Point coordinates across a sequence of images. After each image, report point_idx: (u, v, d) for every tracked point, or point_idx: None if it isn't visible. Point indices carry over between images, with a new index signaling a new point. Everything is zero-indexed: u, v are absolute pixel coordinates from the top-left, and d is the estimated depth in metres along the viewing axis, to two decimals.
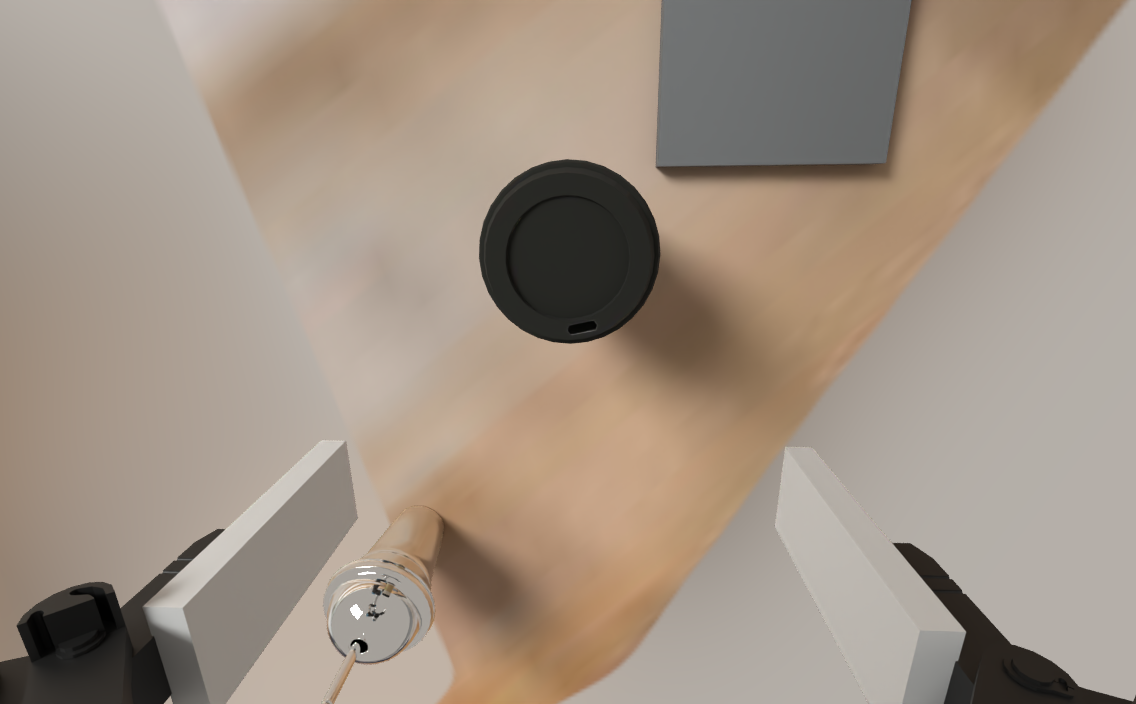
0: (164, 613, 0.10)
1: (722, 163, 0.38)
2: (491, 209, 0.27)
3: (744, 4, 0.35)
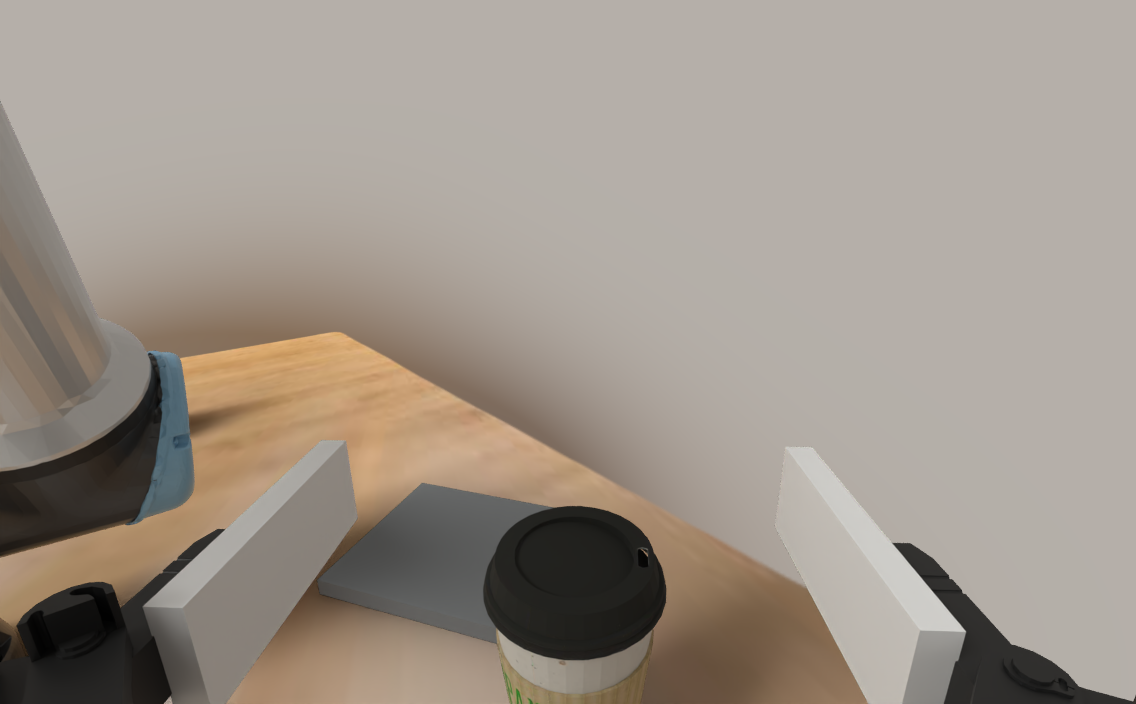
0: (164, 613, 0.10)
1: None
2: (500, 616, 0.25)
3: (451, 563, 0.47)
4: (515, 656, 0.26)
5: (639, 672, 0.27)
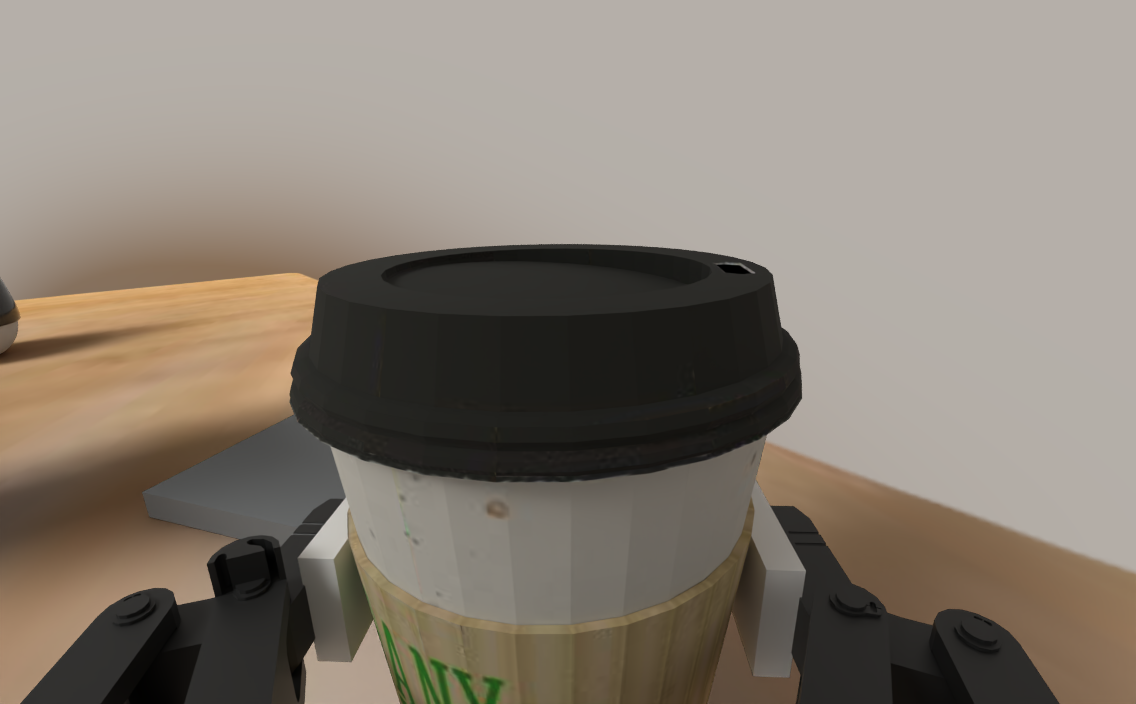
0: (316, 564, 0.11)
1: None
2: (307, 379, 0.08)
3: None
4: (365, 518, 0.09)
5: (733, 572, 0.09)
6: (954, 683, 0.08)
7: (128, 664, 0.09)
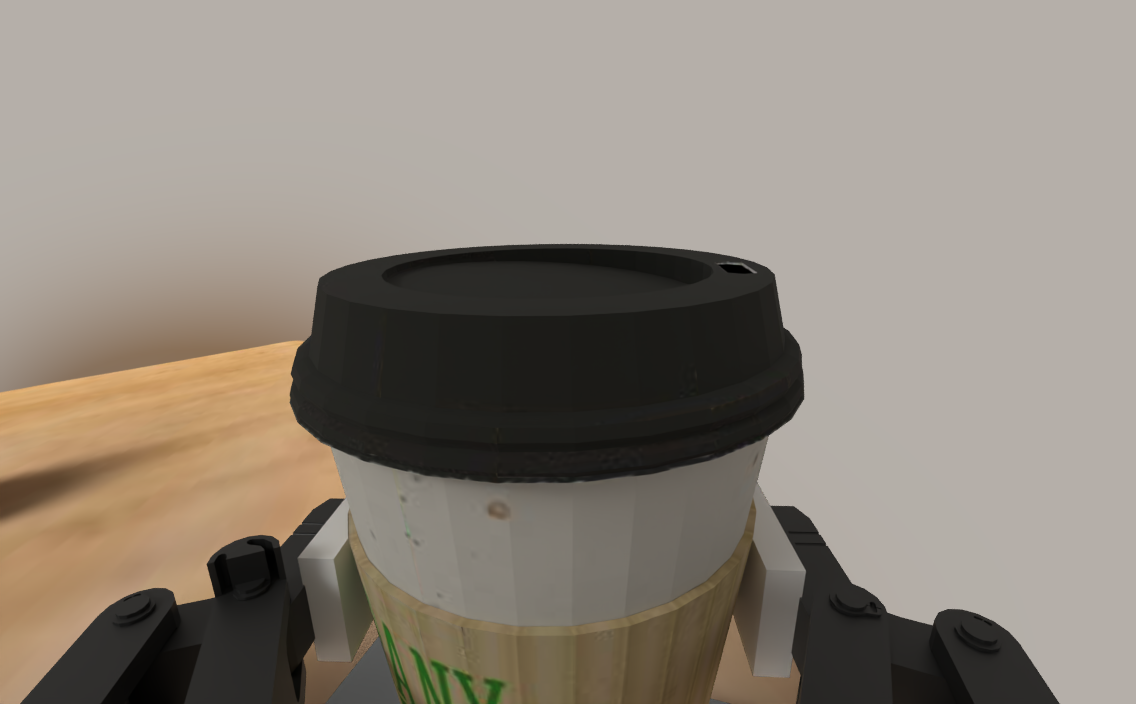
0: (316, 564, 0.11)
1: None
2: (307, 379, 0.08)
3: None
4: (366, 519, 0.09)
5: (735, 573, 0.09)
6: (954, 683, 0.08)
7: (128, 664, 0.09)
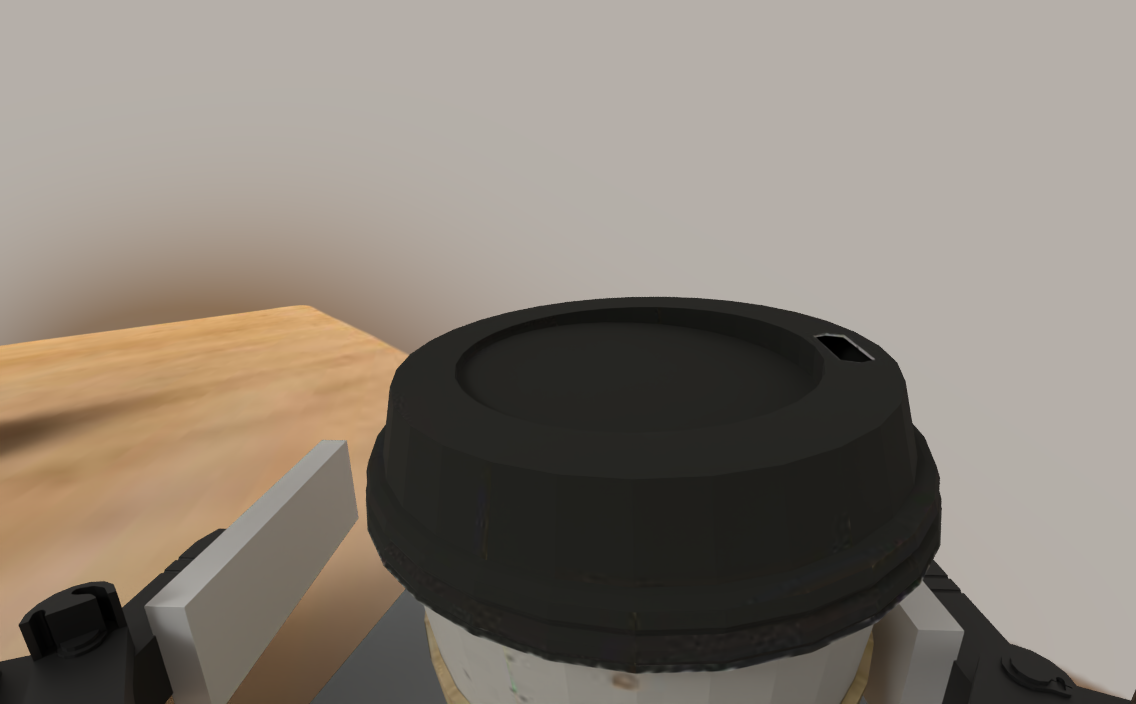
0: (166, 612, 0.10)
1: None
2: (393, 521, 0.07)
3: None
4: (459, 658, 0.08)
5: (862, 694, 0.08)
6: None
7: None
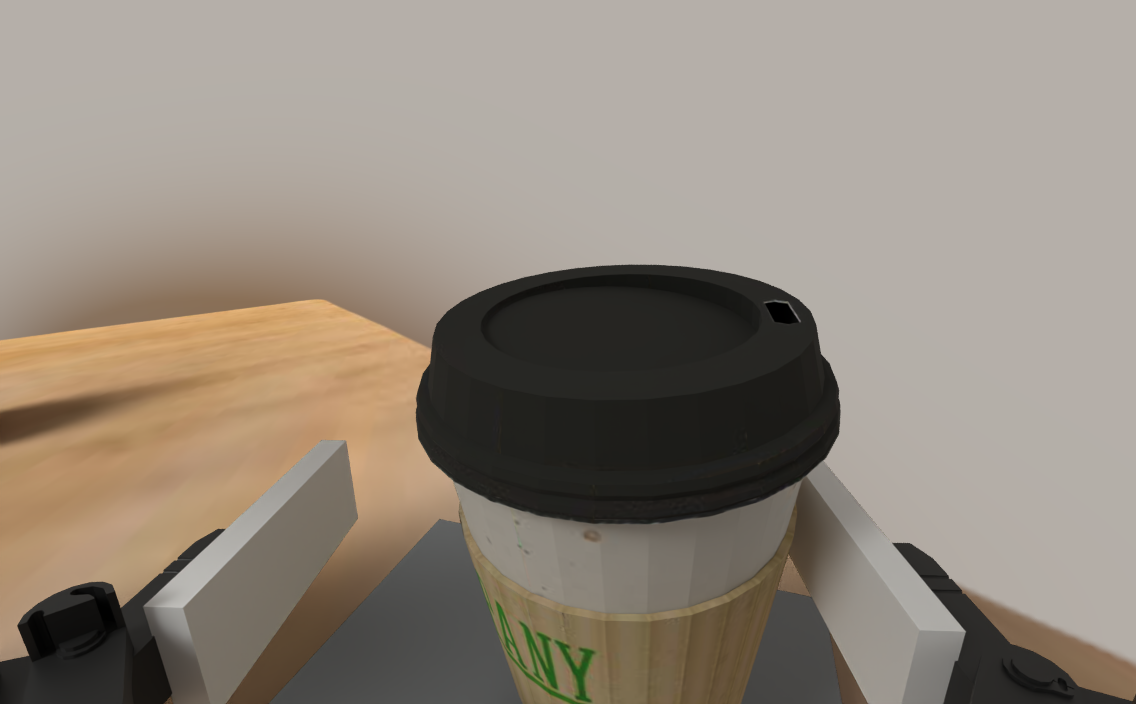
0: (165, 613, 0.10)
1: None
2: (437, 430, 0.10)
3: None
4: (483, 529, 0.11)
5: (777, 569, 0.11)
6: None
7: None
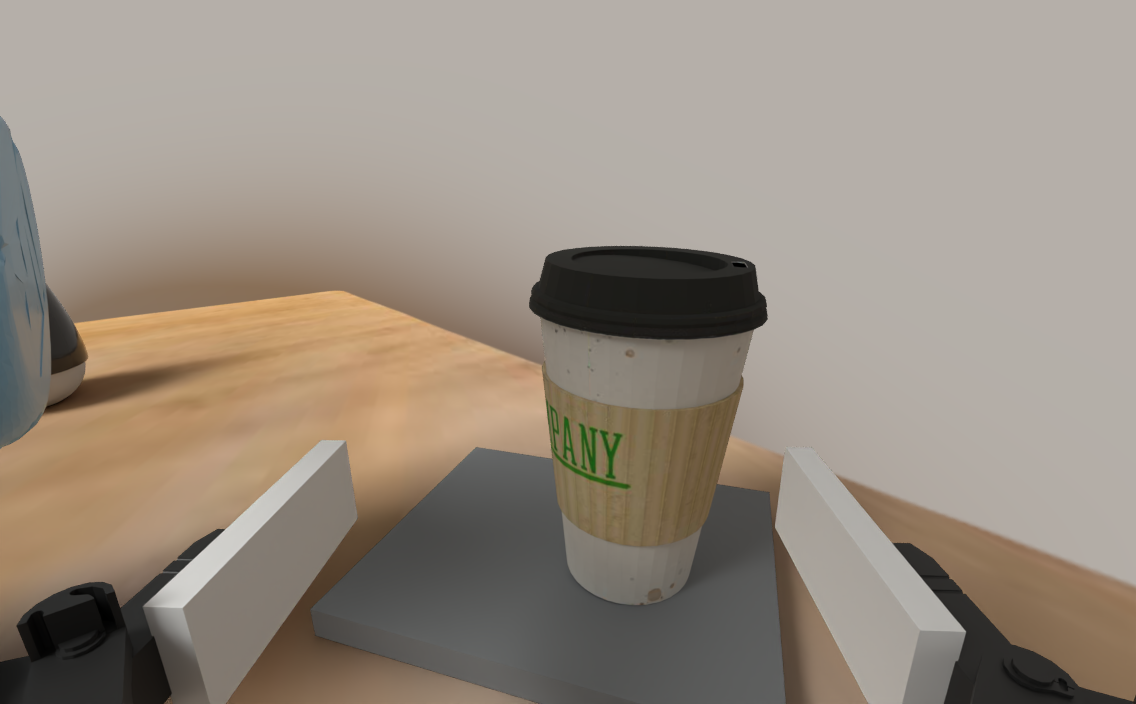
0: (164, 613, 0.10)
1: (777, 638, 0.22)
2: (551, 301, 0.19)
3: (558, 576, 0.25)
4: (566, 364, 0.20)
5: (727, 404, 0.20)
6: None
7: None
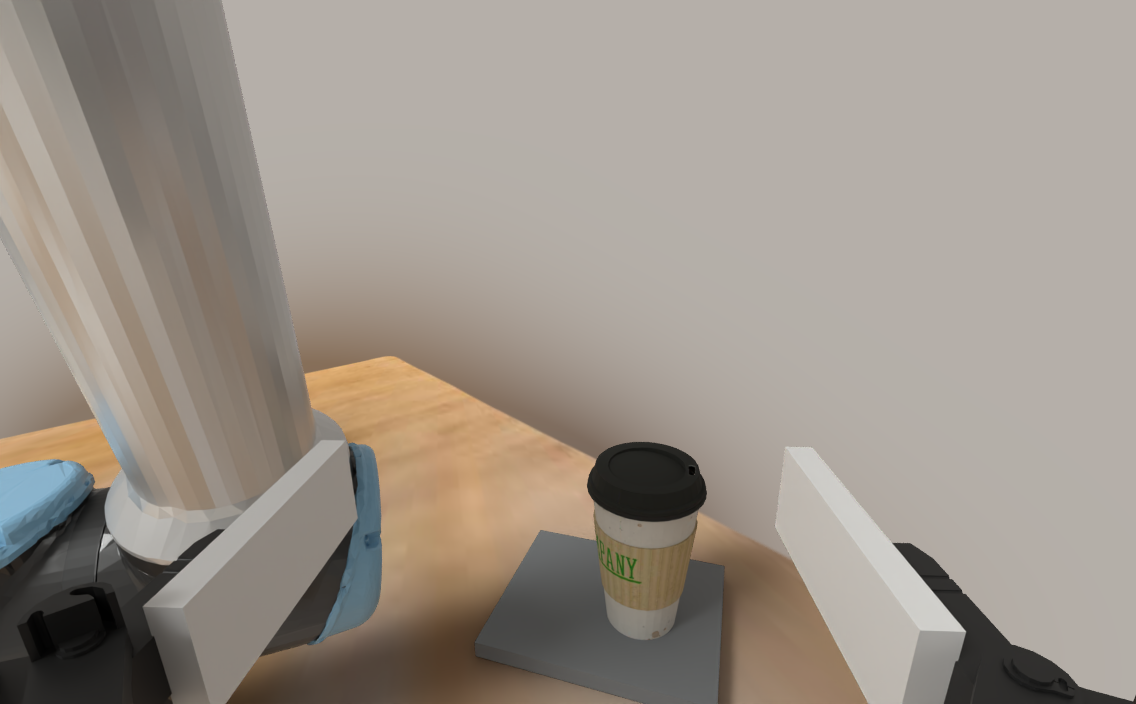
0: (164, 613, 0.10)
1: (718, 657, 0.43)
2: (601, 497, 0.41)
3: (603, 622, 0.47)
4: (608, 524, 0.42)
5: (687, 542, 0.42)
6: None
7: None
